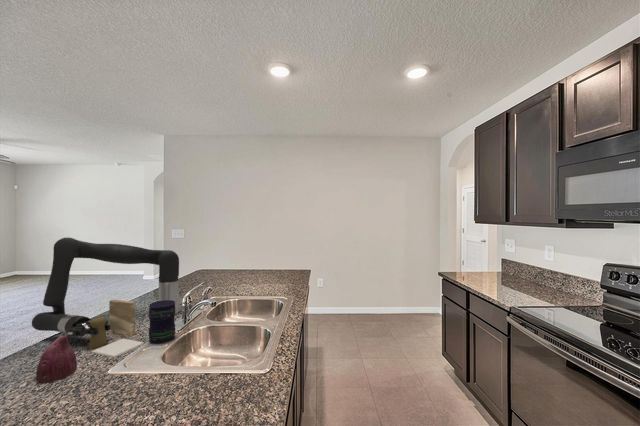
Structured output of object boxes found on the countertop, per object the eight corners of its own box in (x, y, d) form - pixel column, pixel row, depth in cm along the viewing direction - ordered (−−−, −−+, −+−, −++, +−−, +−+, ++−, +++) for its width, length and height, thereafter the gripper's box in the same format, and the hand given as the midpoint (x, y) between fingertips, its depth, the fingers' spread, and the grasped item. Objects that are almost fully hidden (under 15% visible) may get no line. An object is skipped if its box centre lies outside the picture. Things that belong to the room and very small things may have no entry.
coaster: (122, 340, 122) (122, 338, 122) (144, 344, 118) (144, 342, 118) (91, 352, 110) (91, 351, 110) (114, 357, 106) (114, 355, 106)
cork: (111, 342, 119) (111, 315, 119) (98, 349, 113) (98, 320, 113) (97, 342, 120) (97, 315, 120) (84, 348, 114) (84, 320, 114)
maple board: (115, 329, 133) (116, 298, 133) (137, 333, 128) (137, 301, 129) (106, 333, 129) (107, 301, 129) (128, 337, 125) (128, 304, 125)
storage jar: (143, 341, 120) (143, 304, 121) (165, 333, 129) (165, 299, 129) (158, 346, 116) (158, 308, 116) (180, 337, 125) (180, 302, 125)
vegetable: (81, 378, 98) (95, 335, 99) (44, 391, 89) (60, 343, 90) (63, 365, 102) (76, 323, 103) (25, 376, 92) (41, 330, 93)
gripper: (54, 321, 115) (83, 326, 109) (92, 310, 128) (120, 314, 122) (53, 340, 114) (83, 347, 109) (92, 327, 128) (120, 332, 122)
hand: (103, 330), depth 116 cm, fingers closed on cork, 4 cm apart
